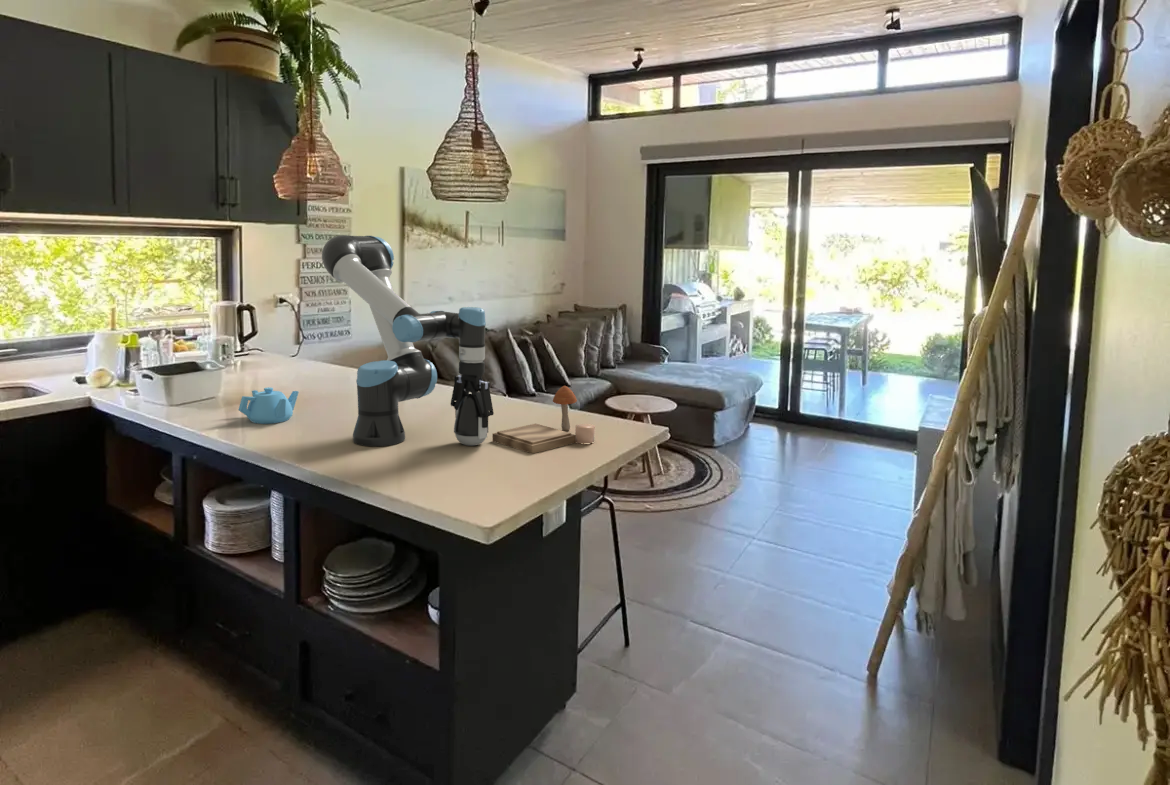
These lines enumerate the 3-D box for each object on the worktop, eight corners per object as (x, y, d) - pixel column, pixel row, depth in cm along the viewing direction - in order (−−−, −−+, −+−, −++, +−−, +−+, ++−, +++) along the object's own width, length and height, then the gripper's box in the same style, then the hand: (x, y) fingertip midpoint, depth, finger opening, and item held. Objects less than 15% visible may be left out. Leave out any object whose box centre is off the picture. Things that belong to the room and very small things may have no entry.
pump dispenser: (479, 437, 222) (479, 388, 219) (494, 445, 214) (494, 395, 211) (448, 440, 217) (448, 391, 214) (462, 449, 208) (462, 398, 205)
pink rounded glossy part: (571, 441, 222) (571, 425, 221) (584, 438, 226) (584, 422, 225) (585, 445, 218) (586, 429, 217) (598, 442, 222) (599, 426, 221)
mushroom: (546, 429, 235) (547, 384, 232) (565, 426, 240) (566, 382, 238) (562, 434, 229) (563, 388, 226) (581, 431, 235) (582, 385, 232)
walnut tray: (492, 441, 220) (492, 431, 219) (535, 431, 233) (535, 422, 232) (532, 453, 208) (532, 443, 207) (575, 442, 221) (576, 433, 220)
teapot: (254, 414, 244) (252, 383, 242) (300, 414, 246) (298, 383, 244) (237, 425, 230) (235, 392, 227) (286, 425, 231) (284, 392, 229)
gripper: (438, 356, 215) (438, 428, 220) (486, 367, 200) (485, 444, 205) (458, 354, 220) (458, 424, 225) (507, 364, 205) (505, 440, 210)
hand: (471, 434), depth 215 cm, fingers closed on pump dispenser, 10 cm apart
